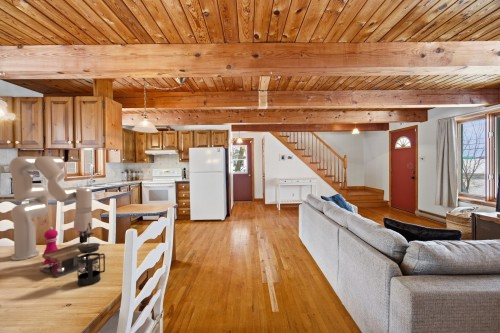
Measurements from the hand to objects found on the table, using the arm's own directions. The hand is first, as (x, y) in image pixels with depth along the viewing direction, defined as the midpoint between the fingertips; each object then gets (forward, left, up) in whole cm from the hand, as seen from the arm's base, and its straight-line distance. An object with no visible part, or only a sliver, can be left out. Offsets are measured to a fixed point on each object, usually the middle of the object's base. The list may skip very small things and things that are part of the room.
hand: (83, 242), depth 138 cm
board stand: (+1, -7, -11) cm, 13 cm away
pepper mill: (-15, -8, -11) cm, 21 cm away
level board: (+1, -7, -4) cm, 8 cm away
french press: (+27, -12, -11) cm, 31 cm away
